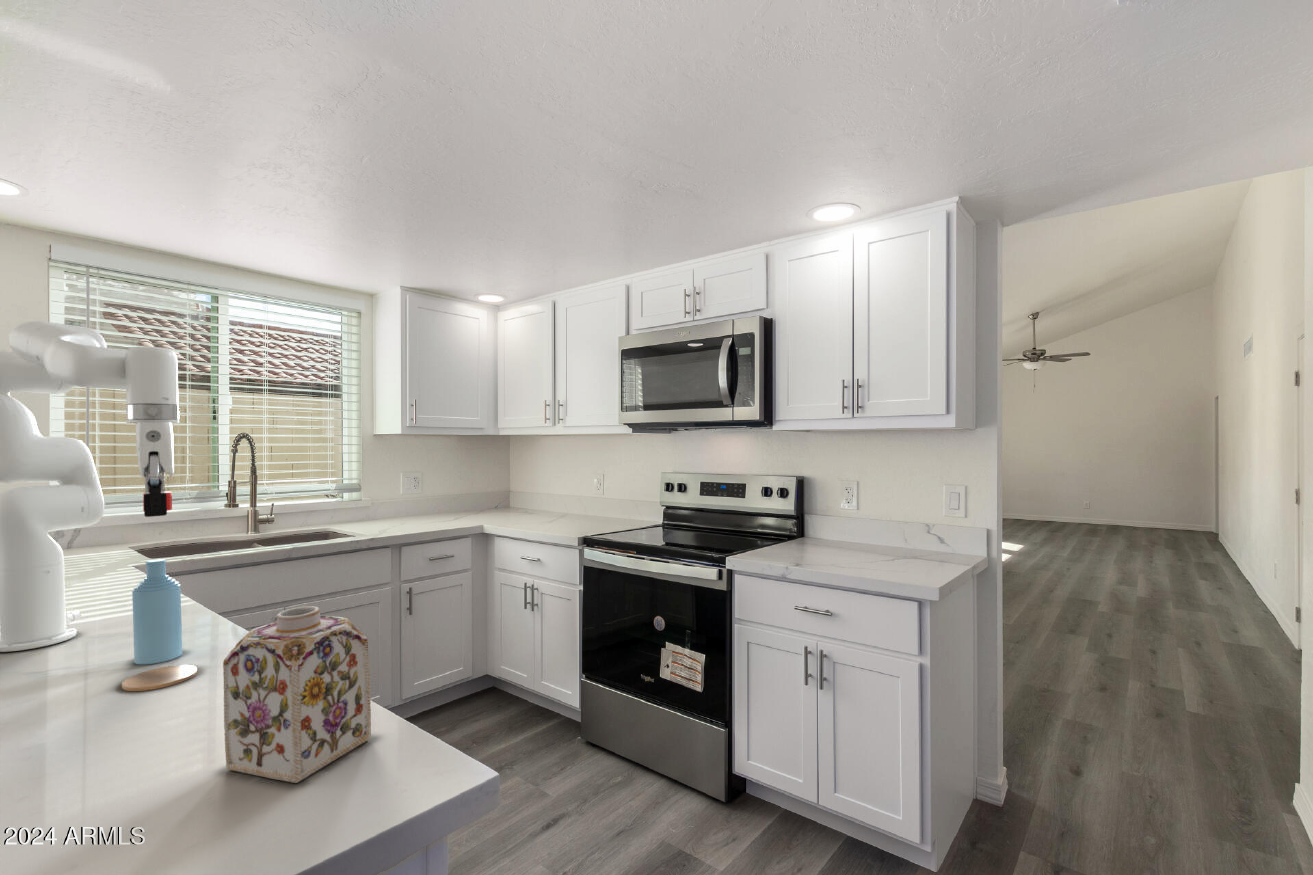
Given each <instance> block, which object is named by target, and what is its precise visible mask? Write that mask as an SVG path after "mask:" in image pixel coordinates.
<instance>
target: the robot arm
mask: <svg viewBox="0 0 1313 875" xmlns="http://www.w3.org/2000/svg"><path fill="white" fill-rule="evenodd" d="M7 340H8V344H9V346H10V348H11V350H6V349H0V483H4V484H30V483H48V482H57V483H58V484H53V485H52V484H49V485H48V484H47V485H33V486H21V487H15V488H10V489H7V490H4V491H1V492H0V653H6V652H7V653H9V652H19V651H27V650H33V649H37V648H38V649H39V648H43V647H48V646H51V645H55V644H58V643H62V642H66V641H68V640H71V639H73V638H74V637H75V636H76V635H77V629H76V628H75V627H69V624H70V623H71V622H74V621H77V620H79V619H80V618H81V617H82V614H81V612H80V611H79V610H74V611H71V612H68V611H67V612H66V582H65V579H66V578H65V556H64V551H63V549H62V547H61V545H60V544H59V543H58V542H56V540H54V539H53V538H52V536H50V534H49V533H50V532H57V531H64V530H73V529H81V528H87V527H90V526H93V525H95V524H97V523H98V522H100V520H101V519H103V516H104V513H105V499H104V495H103V491H102V487H101V484H100V480H99V477H98V472H97V470H96V466H95V462H94V459H93V455H92V453H91V451H90V449H89V447H88V446H87V445H86V444H85V443H84V442H83V441H82V440H80V439H77V438H74V437H70V436H69V437H68V436H44V435H42V434H41V433H40V430H39V428H38V425H37V421H36V418H35V416H34V414H33V413H32V411H31V410H29V408H27V406H25V405H24V404H23V403H22V402H21V401H20V400H18V399H16V398H14V397H13V396H12V395H11V394H10V393H23V394H25V393H26V394H45V395H46V394H47V395H48V394H49V395H59V394H66V393H69V392H70V391H72V390H74V389H75V388H77V387H79V388H89V389H107V390H109V389H111V390H122V391H123V390H125V396H126V397H125V404H126V405H125V406H126V408H125V409H126V423H127V424H135V443H136V458H137V465H138V470H139V475H140V477H141V478H144V491H145V492H144V493H145V495H144V511H143V512H144V514H143V515H144V517H146V518H151V517H162V516H163V517H164V516H167V515H168V510H167V498H166V493H165V492H166V489H165V478H166V475H165V474H169V477H173V476H174V475H175V449H174V448H175V447H174V444H175V443H174V431H173V424H179V423H180V414H179V413H180V411H179V409H180V408H179V375H178V356H177V354H176V352H175V351H174V350H172V349H170V348H166V347H159V346H158V347H157V346H133V347H129V348H128V349H125V348H115V347H109V346H108V347H107V342H106V341H105V338H104V337H103V336H102V334H101V333H100V332H99V331H97V330H95V329H93V328H90V327H88V326H83V325H74V324H66V323H58V322H51V321H44V320H43V321H41V320H31V321H26V322H22V323H20V324H18V325H16V326H14V327H13V328H12V329H11V331H10V332H9V335H8V339H7Z"/></svg>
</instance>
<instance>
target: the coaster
mask: <svg viewBox="0 0 1313 875" xmlns="http://www.w3.org/2000/svg"><path fill="white" fill-rule="evenodd" d="M196 675H198V668H197V666H195V665H189V664H179V665H178V664H177V665H169V666H163V667H158V668H152V669H149V670H145V671H142V672H139V673H137V674H134V675H131V676H129V677H127V678H125V679H124V680H123V681H122V683H121V689H122V690H123V691H125V692H126V691H127V692H144V691H152V690H159V689H162V688H168V687H171V686H174V685H178V684H181V683H183V682H186V681H188V680H190V679H192V678H194V677H195V676H196Z"/></svg>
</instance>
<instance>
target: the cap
mask: <svg viewBox="0 0 1313 875" xmlns="http://www.w3.org/2000/svg"><path fill="white" fill-rule="evenodd" d="M165 493H166V498H167V511H172V510H173V495H172V493H173V492H172V491H165ZM144 495H145V492H144V493H143V494H142V507H143V508H142V509H143V510H142V511H143V512H144Z"/></svg>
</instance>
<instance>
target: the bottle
mask: <svg viewBox="0 0 1313 875" xmlns="http://www.w3.org/2000/svg"><path fill="white" fill-rule="evenodd" d="M166 563H167V561H166V559H165V558H164V559H163V558H160V559H159V558H158V559H151V560H146V562H145V568H146V571H145V572H146V576H145V577H144V578H143V580H141V581H140V583H138V584H137V585H136V586H134V587H133V590H132V591H131V595H132V596H131V597H132V600H131V601H132V625H133V626H132V629H133V661H134V662H133V663H134V664H135V665H141V666H142V665H153V664H159V663H165V662H168V661H171V660H175V659H177V658H179V657H181V656H182V655H183V627H182V626H183V625H182V594H181V593H182V592H181V584H180V582H179V581H176V579H175V578H173V577H172V576H169V575H168V574H167V567H166Z"/></svg>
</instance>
